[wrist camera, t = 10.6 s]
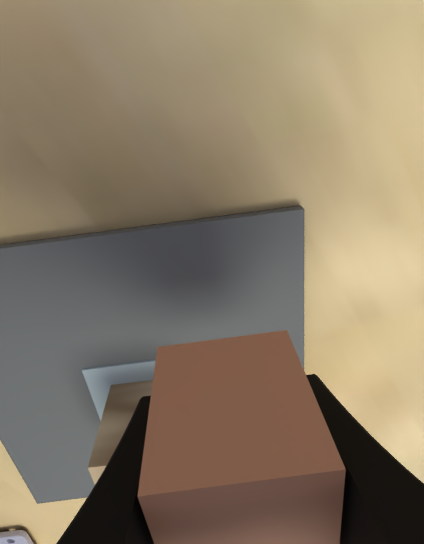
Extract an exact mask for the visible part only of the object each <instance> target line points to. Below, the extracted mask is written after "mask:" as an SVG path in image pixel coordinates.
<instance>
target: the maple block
mask: <svg viewBox="0 0 424 544" xmlns="http://www.w3.org/2000/svg"><path fill="white" fill-rule="evenodd" d="M152 384H153V380H148V381H140V382H131V383H123V384H114V385H111V386H110V390H109V394H108V397H107V401H106V404H105V408H104V411H103V415H102V419H101V422H100V426H99V429H98V433H97V436H96V440H95V443H94V447H93V451H92V454H91V458H90V461H89V465H88V470H89V472H90V475H91V477H92V479H93V482H94V484H96V483H97V481H98V479H99V478H100V476H101V474H102V473H103V471H104V469H105V467H106V466H107V464H108V462H109V460H110V458H111V456H112V455H113V453H114V451H115V449H116V447H117V445H118V444H119V442H120V440H121V438H122V436H123V434H124V432H125V430H126V428H127V426H128V424H129V422H130V420H131V418H132V415H133V413H134V411H135V409H136V407H137V404H138V402H139V400H140V399H141V398H142V397H143V396H151V391H152Z"/></svg>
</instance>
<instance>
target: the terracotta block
mask: <svg viewBox="0 0 424 544" xmlns="http://www.w3.org/2000/svg"><path fill="white" fill-rule="evenodd" d="M345 472H346V469H345V466H344V464H343V462H342V459H341V457H340V455H339V452H338V450H337V448H336V445H335V443H334V440H333V438H332V436H331V433H330V431H329V429H328V426H327V424H326V421H325V419H324V417H323V414H322V412H321V410H320V407H319V405H318V402H317V400H316V398H315V395H314V393H313V391H312V388H311V386H310V383H309V381H308V379H307V376H306V374H305V372H304V369H303V367H302V365H301V362H300V360H299V357H298V355H297V353H296V350H295V348H294V346H293V343H292V341H291V338H290V336H289V334H288V331H287V330H283V331H275V332H268V333H260V334H252V335H245V336H237V337H229V338H222V339H214V340H206V341H199V342H191V343H184V344H176V345H168V346H161V347H157V354H156V361H155V369H154V376H153V384H152V391H151V399H150V406H149V414H148V421H147V429H146V436H145V444H144V451H143V459H142V466H141V474H140V481H139V489H138V496H137V497H138V499H139V502H140V505H141V508H142V511H143V514H144V516H145V519H146V522H147V525H148V528H149V531H150V533H151V536H152V539H153V542H154V544H340V532H341V520H342V508H343V496H344V484H345Z"/></svg>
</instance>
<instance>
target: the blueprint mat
mask: <svg viewBox="0 0 424 544" xmlns="http://www.w3.org/2000/svg"><path fill="white" fill-rule="evenodd" d="M283 330H287V331H288V334H289V336H290V338H291V341H292V343H293V346H294V348H295V350H296V353H297V355H298V357H299V360H300V362H301V365H302V367H303V369H304V208H303V207H302V206H295V207H287V208H280V209H272V210H264V211H257V212H249V213H241V214H234V215H226V216H218V217H211V218H203V219H195V220H188V221H180V222H172V223H165V224H157V225H150V226H142V227H134V228H127V229H119V230H111V231H104V232H96V233H88V234H81V235H73V236H65V237H58V238H50V239H42V240H35V241H27V242H19V243H12V244H4V245H0V440H1V442H2V443H3V445H4V447H5V449H6V450H7V452H8V454H9V455H10V457H11V459H12V461H13V462H14V464H15V466H16V468H17V469H18V471H19V473H20V474H21V476H22V478H23V480H24V481H25V483H26V485H27V487H28V488H29V490H30V492H31V493H32V495H33V497H34V499H35V500H36V502H37V504H38V503H46V502H54V501H62V500H70V499H78V498H85V497H88V496H89V494H90V493H91V491H92V489H93V488H94V486H95V484H94V482H93V479H92V477H91V475H90V472H89V470H88V465H89V461H90V458H91V454H92V451H93V447H94V443H95V440H96V436H97V433H98V429H99V426H100V422H101V419H102V415H103V411H104V408H105V404H106V401H107V397H108V394H109V390H110V386H111V385H114V384H123V383H131V382H140V381H148V380H153V376H154V369H155V361H156V354H157V347H161V346H168V345H176V344H184V343H191V342H199V341H206V340H214V339H222V338H229V337H237V336H245V335H252V334H260V333H268V332H275V331H283Z"/></svg>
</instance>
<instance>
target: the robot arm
mask: <svg viewBox="0 0 424 544" xmlns="http://www.w3.org/2000/svg"><path fill="white" fill-rule="evenodd" d="M306 376H307V379H308V381H309V383H310V386H311V388H312V391H313V393H314V395H315V398H316V400H317V402H318V405H319V407H320V410H321V412H322V414H323V417H324V419H325V421H326V424H327V426H328V429H329V431H330V433H331V436H332V438H333V440H334V443H335V445H336V448H337V450H338V452H339V455H340V457H341V459H342V462H343V464H344V466H345V469H346V472H345V484H344V496H343V508H342V520H341V532H340V544H424V484H423V483H422V482H421V481H420V480H419V479H418V478H416V477H415V476H414V475H413V474H412V473H411V472H410V471H408V470H407V469H406V468H405V467H404V466H403V465H402V464H401V463H399V462H398V461H397V460H396V459H395V458H394V457H393V456H392V455H391V454H390V453H389V452H388V451H387V450H386V449H384V448H383V447H382V446H381V445H380V444H379V443H378V442H377V441H376V440H375V439H374V438H373V437H372V436H371V435H370V434H369V433H368V432H367V431H366V430H365V429H364V428H363V427H362V426H361V425H360V424H359V423H358V421H357V420H356V419H355V418H354V417H353V416H352V415H351V414H350V413H349V412H348V411H347V410H346V409H345V408H344V406H343V405H342V404H341V403H340V402H339V401H338V400H337V399H336V397H335V396H334V395H333V394H332V393H331V392H330V391H329V389H328V388H327V387H326V386H325V385H324V383H323V382H322V381H321V380H320V378H319V377H318V376H317V375H315V374H312V375H306ZM150 399H151V396H143V397H142V398H141V399H140V400H139V402H138V404H137V407H136V409H135V411H134V413H133V415H132V418H131V420H130V422H129V424H128V426H127V428H126V430H125V432H124V434H123V436H122V438H121V440H120V442H119V444H118V445H117V447H116V449H115V451H114V453H113V455H112V456H111V458H110V460H109V462H108V464H107V466H106V467H105V469H104V471H103V473H102V474H101V476H100V478H99V479H98V481H97V483H96V484H95V486H94V488H93V489H92V491H91V493H90V494H89V496H88V497H87V499H86V501H85V502H84V504H83V505H82V507H81V508H80V510H79V512H78V513H77V515H76V516H75V518H74V519H73V521H72V522H71V523H70V525H69V526H68V528H67V529H66V531H65V532H64V534H63V535H62V536H61V538H60V539H59V541H58V542H57V544H154V542H153V539H152V536H151V533H150V531H149V528H148V525H147V522H146V519H145V516H144V514H143V511H142V508H141V505H140V502H139V499H138V497H137V496H138V489H139V481H140V474H141V466H142V459H143V451H144V444H145V436H146V429H147V421H148V414H149V406H150ZM0 544H34V543H33V542H32V540H31V538H30V537H29V535H28V534H27V532H25V531H23V530H15V531H7V532H0Z"/></svg>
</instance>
